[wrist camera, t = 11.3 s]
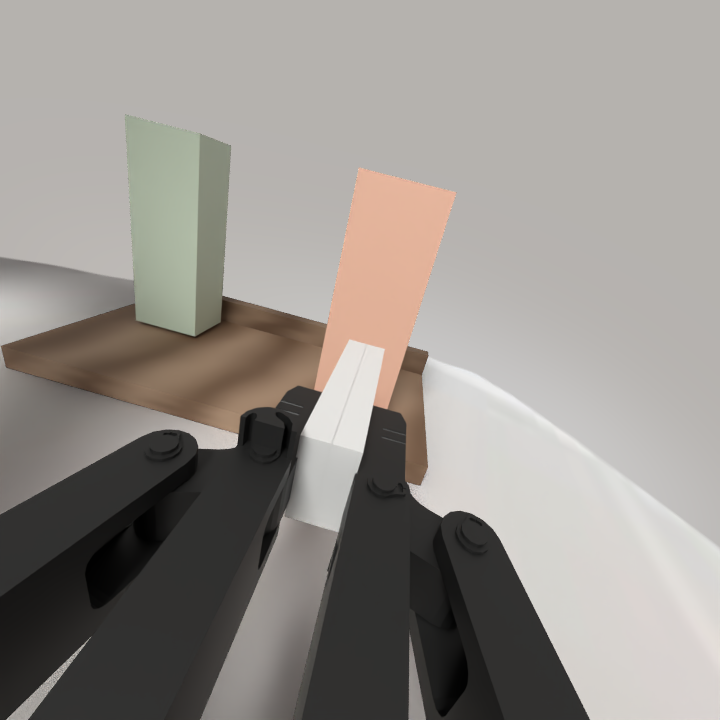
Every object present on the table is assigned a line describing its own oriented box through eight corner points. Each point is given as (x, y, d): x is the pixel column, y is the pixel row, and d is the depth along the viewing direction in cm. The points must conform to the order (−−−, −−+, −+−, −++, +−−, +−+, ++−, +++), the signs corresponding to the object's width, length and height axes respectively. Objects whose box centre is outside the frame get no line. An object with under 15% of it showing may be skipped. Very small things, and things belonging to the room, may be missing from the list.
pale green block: (136, 320, 27) (124, 114, 21) (170, 307, 31) (169, 130, 25) (194, 336, 27) (199, 133, 21) (222, 321, 31) (232, 146, 25)
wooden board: (6, 367, 21) (-7, 315, 20) (164, 307, 35) (164, 274, 33) (420, 485, 20) (438, 440, 19) (416, 376, 34) (427, 345, 32)
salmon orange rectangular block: (311, 400, 22) (358, 167, 17) (326, 373, 26) (368, 176, 21) (383, 420, 22) (456, 192, 17) (387, 390, 26) (447, 196, 20)
